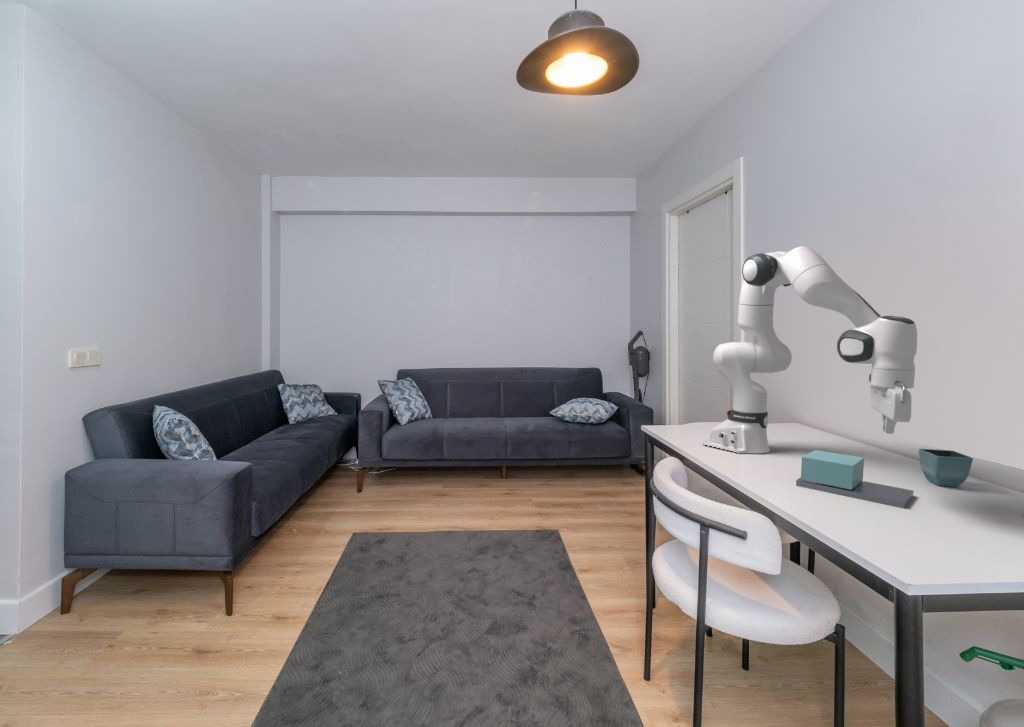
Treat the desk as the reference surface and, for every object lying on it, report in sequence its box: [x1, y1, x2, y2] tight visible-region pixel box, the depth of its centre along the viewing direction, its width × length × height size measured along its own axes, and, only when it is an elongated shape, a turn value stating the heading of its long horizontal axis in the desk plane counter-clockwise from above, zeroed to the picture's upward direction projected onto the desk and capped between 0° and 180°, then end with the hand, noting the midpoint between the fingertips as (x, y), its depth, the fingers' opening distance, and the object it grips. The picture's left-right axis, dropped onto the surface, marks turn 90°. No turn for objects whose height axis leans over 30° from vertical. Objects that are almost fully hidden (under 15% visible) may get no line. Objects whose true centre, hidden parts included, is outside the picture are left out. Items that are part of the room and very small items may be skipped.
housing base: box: [795, 477, 915, 509], centre depth 134 cm, size 24×13×6 cm, turn 43°
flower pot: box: [918, 448, 974, 488], centre depth 140 cm, size 9×9×9 cm
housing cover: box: [800, 449, 865, 490], centre depth 137 cm, size 12×12×6 cm
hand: (888, 432), depth 128 cm, fingers closed
